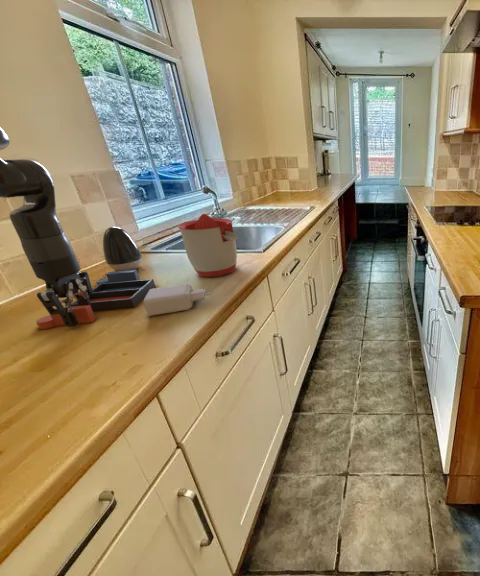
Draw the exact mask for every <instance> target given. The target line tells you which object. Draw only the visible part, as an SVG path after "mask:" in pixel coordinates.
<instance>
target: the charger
mask: <svg viewBox="0 0 480 576" xmlns="http://www.w3.org/2000/svg"><path fill="white" fill-rule="evenodd" d="M213 292H214V290H206V289H205V288H200V289H193V286H192V285H191V284H189V283H184V284H176V285H168V286H162V287H154V288H153V289H150V290H149V292H148V293H147V295H146V296H145V297H144V298H143V307H144V309H145V311H146V314H147V316H148V317H153V316H158V315H164V314H165V315H166V314H170V313H171V314H172V313H176V312H181V311H182V312H183V311H188V310H189V309H191V308H192V307H193V305H194V302H196V301H197V302H198V301H202V300H206V297H207V296H209V295H214V293H213Z"/></svg>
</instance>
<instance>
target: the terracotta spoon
mask: <svg viewBox="0 0 480 576" xmlns="http://www.w3.org/2000/svg"><path fill="white" fill-rule="evenodd" d="M63 307H64V308H65V306H63ZM53 308H54V309H55V307H53ZM72 311H73V312H74V314H75V316H76V318H77V321H78V323H79V324H78V325H80V324H88V323H93V322H94V321H95V320H96V319H97V318H96V316H95V314H94V311H92V309H91V307H90V305H84V306H74V307H72ZM35 322H36V325H37V326H38V328H39V329H40V330H47V329H52V328H55V327H60V326H66V325H65V324H64V322H63V320H62V317H61V315H60V314H55V315H50V314H49V315H46V316H43V317H40V318H38V319H37V320H35Z"/></svg>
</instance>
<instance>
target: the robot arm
mask: <svg viewBox="0 0 480 576" xmlns="http://www.w3.org/2000/svg"><path fill="white" fill-rule="evenodd" d="M9 146H10V138H9V137H8V135H7V133H5V131H4V130H3V128H1V127H0V151H3V150H4V149H6V148H7V147H9ZM55 190H56V189H55V184H54V180H53V177H52V176H51V174H50V172H49V171H48V170H47V169H46V168H45V167H44V166H43V165H42V164H40V163H39V162H37V161H35V160H32V159H26V158H24V159H21V158H20V159H2V158H1V157H0V198H2V199H13V198H19V197H23V203H22V205H21V206H20V207H17V208H15V209H13V210H11V211H10V212H9V219H10V221H11V224H12V226H13V228H14V230H15V233H16V235H17V236H18V238H19V241H20V244H21V247H22V250H23V252H24V254H25V256H26V258H27V260H28V262H29V264H30V267H31V269H32V270H33V273H34V275H35V277H36V278H37V279H39V280H43V281H44V283H45V290H44V291H41V292H40V291H39V292H37V293H36V297H37V298H38V300H39V301H40V303H41V304H42V305H43V307H44V308H45V310H46V311H47V313H48V314H49V316H50V315H55V314H60V315H61V317H62V320H63V322H64V324H65V325H64V326H66V327H68V328H70V327H77V326H78V325H80V324H79V323H78V321H77V318H76V316H75V314H74V312H73V311H72V306H71V303H73V302H74V300H75V301H76V300H79V301H77V304H78V306H84V305H90V307H91V309H92V306H91V304H90V301H89V299H90V296H89V295H90V294H93V290H92V289H93V286H92V284H91V280H90V276H89V273H88V272H87V271H81V266H80V263H79V261H78V259H77V256H76V254H75V251H74V249H73V246H72V244H71V242H70V241H69V240H70V239H68V237H67V236H66V234H65V232H64V229H63V227H62V225H61V222H60V221H59V217H58V216H57V203H56V191H55ZM63 304H64V305H63ZM64 307H65V308H64ZM54 308H55V309H54ZM92 311H93V309H92ZM93 312H94V311H93Z"/></svg>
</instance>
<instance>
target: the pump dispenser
mask: <svg viewBox="0 0 480 576" xmlns="http://www.w3.org/2000/svg"><path fill="white" fill-rule="evenodd" d="M102 252H103V257H104V258H103V259H104V261H105V264H107V265H108V267H110V269H112V270H114V271H115V272H117V271H130V270H137V269H138V268H139V267H140V266H141V265H142V258H143V255H142V253H141V250H140V249H139V247H138V245H137V244H136V242H135V241H134V240H133V238H132V236H130V234H129V233H128V232H127V231H126V230H124V229H123V228H121V227H119V226H110V227H108V228H107V229H105V231H104V233H103V237H102Z"/></svg>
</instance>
